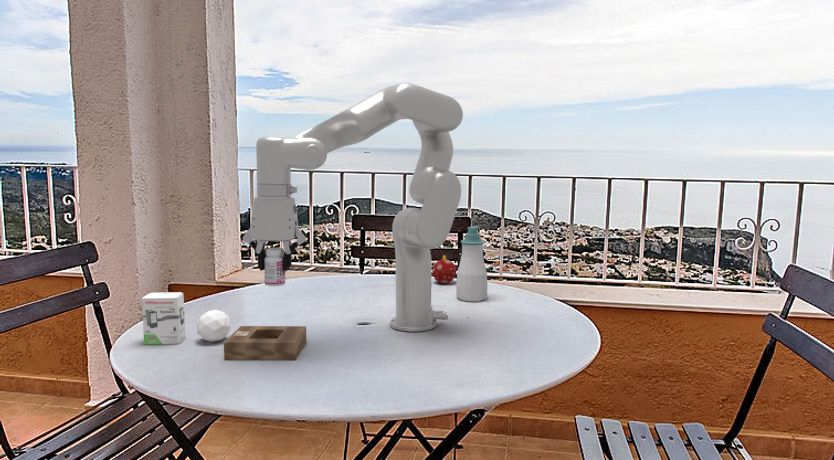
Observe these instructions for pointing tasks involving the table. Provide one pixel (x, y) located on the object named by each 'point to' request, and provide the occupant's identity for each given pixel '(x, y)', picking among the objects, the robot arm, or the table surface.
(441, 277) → the christmas ornament
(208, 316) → the geometric ball
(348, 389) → the table surface
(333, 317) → the table surface
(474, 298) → the soap bottle
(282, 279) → the pill bottle
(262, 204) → the robot arm
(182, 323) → the ink box
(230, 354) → the brown flat recessed slab
